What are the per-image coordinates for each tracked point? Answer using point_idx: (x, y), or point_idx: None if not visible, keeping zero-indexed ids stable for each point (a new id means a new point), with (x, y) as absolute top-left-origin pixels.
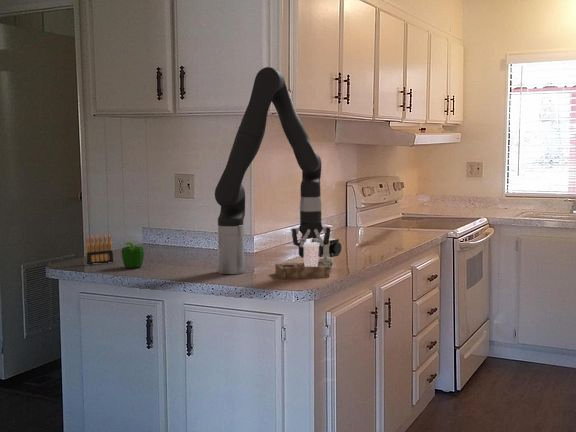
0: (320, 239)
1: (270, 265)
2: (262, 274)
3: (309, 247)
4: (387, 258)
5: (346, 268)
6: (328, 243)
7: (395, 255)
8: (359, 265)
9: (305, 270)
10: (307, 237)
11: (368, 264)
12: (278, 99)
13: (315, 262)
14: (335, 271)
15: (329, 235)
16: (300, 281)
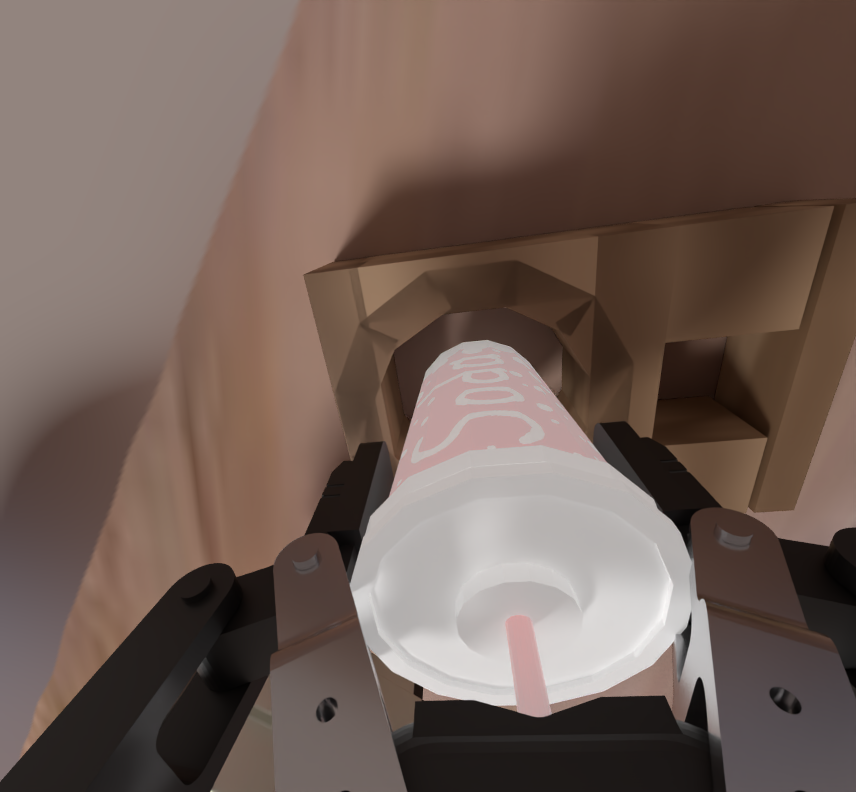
0: (302, 644)
1: (656, 675)
2: (847, 441)
3: (569, 456)
4: (38, 718)
5: (215, 545)
6: (249, 748)
7: (20, 757)
8: (147, 607)
9: (574, 237)
10: (679, 737)
11: (101, 622)
12: None
13: (446, 370)
14: (284, 468)
15: (4, 781)
16: (657, 25)
